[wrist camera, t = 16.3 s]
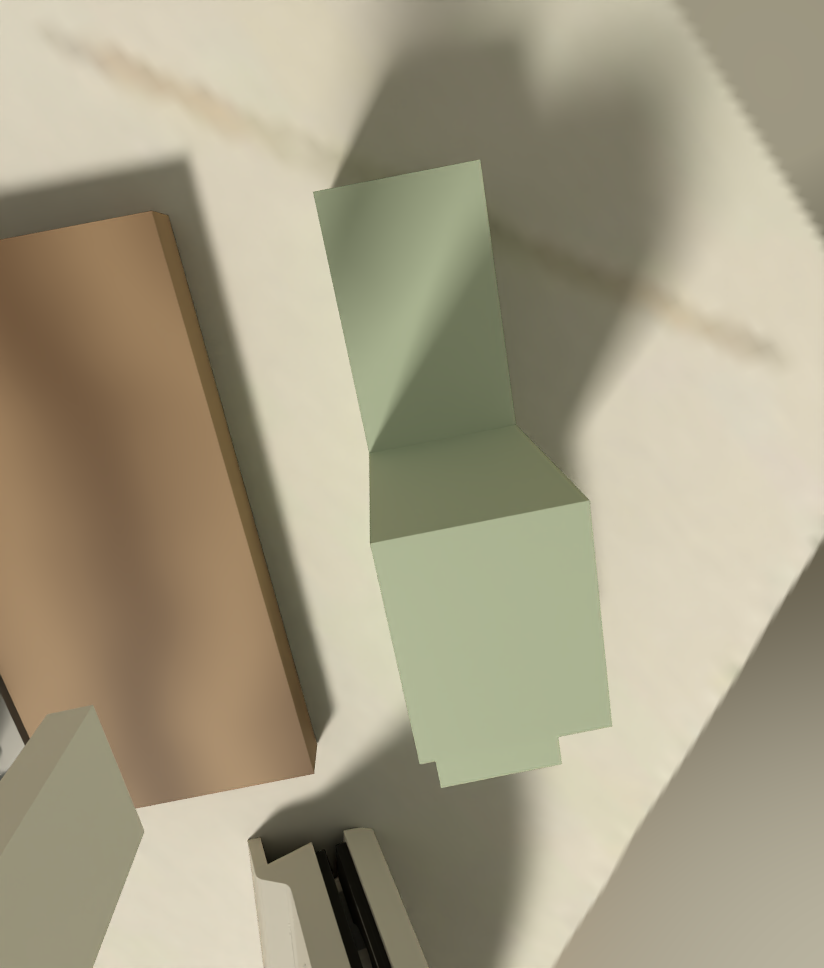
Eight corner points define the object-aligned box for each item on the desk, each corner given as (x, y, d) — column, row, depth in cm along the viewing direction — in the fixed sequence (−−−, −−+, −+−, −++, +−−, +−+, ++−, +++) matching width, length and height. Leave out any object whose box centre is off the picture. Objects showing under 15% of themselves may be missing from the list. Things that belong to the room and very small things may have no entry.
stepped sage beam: (429, 708, 25) (468, 981, 15) (324, 207, 19) (280, 143, 9) (532, 688, 25) (634, 948, 15) (457, 181, 19) (548, 91, 9)
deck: (85, 789, 24) (68, 821, 23) (-141, 274, 18) (-184, 274, 17) (317, 744, 25) (313, 773, 23) (168, 215, 18) (151, 210, 17)
